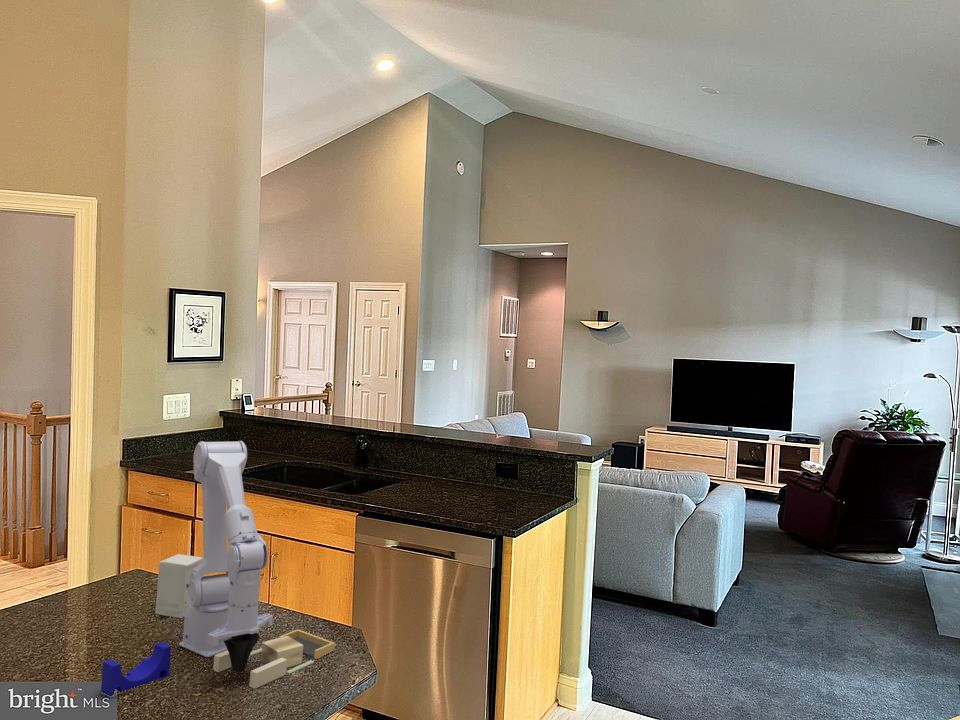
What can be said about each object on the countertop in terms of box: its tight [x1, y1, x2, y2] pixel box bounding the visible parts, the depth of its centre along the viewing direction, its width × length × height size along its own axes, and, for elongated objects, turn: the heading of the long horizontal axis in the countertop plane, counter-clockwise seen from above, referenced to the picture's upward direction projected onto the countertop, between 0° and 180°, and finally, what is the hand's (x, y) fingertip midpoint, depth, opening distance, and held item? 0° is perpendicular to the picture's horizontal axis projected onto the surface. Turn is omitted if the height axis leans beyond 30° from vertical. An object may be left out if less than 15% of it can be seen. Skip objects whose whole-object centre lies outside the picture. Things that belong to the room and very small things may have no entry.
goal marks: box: [250, 647, 315, 675], centre depth 152 cm, size 13×7×1 cm, turn 59°
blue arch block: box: [100, 641, 172, 696], centre depth 137 cm, size 12×4×6 cm, turn 149°
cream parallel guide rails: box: [212, 650, 287, 689], centre depth 145 cm, size 12×8×3 cm, turn 59°
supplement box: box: [154, 553, 204, 619], centre depth 173 cm, size 7×7×13 cm
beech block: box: [260, 636, 304, 669], centre depth 151 cm, size 6×6×4 cm
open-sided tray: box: [278, 629, 336, 660], centre depth 159 cm, size 11×6×2 cm, turn 59°
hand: (238, 670), depth 142 cm, fingers closed
